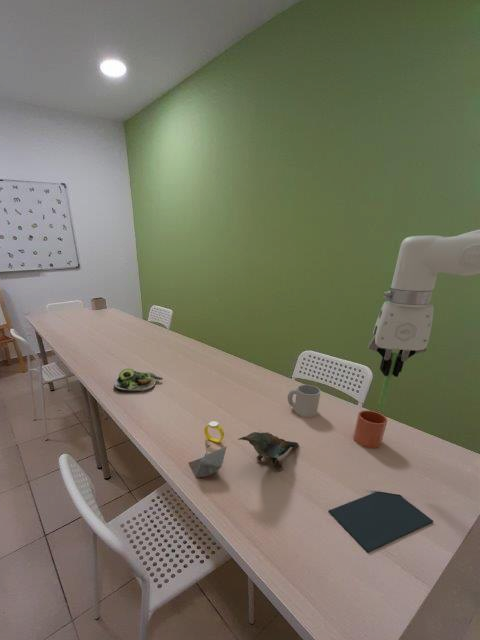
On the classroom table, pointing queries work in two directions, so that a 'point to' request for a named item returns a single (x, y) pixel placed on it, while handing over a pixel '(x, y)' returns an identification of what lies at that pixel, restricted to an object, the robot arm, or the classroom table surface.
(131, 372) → the salad plate
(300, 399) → the cup
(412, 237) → the robot arm
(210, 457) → the paper boat
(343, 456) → the classroom table surface
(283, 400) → the classroom table surface
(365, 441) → the tumbler
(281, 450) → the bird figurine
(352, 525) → the mat
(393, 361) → the green square stick
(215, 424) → the gold diamond ring
